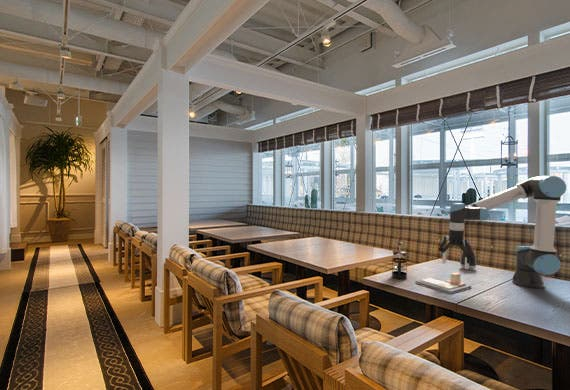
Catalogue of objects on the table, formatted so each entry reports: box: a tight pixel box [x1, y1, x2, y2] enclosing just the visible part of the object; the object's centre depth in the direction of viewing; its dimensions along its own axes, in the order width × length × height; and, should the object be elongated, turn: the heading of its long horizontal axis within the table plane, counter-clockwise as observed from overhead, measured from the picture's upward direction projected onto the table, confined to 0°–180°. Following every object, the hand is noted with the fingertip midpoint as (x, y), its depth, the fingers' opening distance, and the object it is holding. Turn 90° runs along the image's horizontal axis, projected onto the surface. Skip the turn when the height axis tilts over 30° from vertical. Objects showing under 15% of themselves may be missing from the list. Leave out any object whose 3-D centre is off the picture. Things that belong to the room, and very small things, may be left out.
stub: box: [445, 272, 467, 286], centre depth 189 cm, size 9×6×6 cm, turn 31°
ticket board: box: [415, 275, 472, 295], centre depth 190 cm, size 22×20×2 cm
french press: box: [391, 241, 408, 281], centre depth 206 cm, size 12×9×23 cm
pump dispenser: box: [459, 247, 478, 271], centre depth 228 cm, size 10×10×15 cm
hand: (455, 265), depth 189 cm, fingers open, 13 cm apart
